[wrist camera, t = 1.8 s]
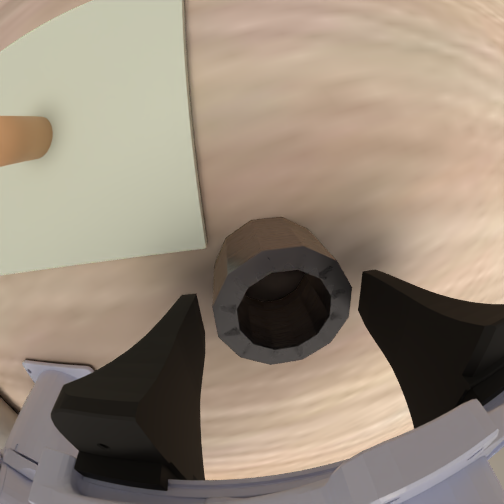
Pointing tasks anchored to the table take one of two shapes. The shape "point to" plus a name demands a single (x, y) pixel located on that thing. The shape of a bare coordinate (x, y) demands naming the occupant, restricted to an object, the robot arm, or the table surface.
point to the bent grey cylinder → (6, 421)
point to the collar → (286, 309)
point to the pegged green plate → (98, 139)
